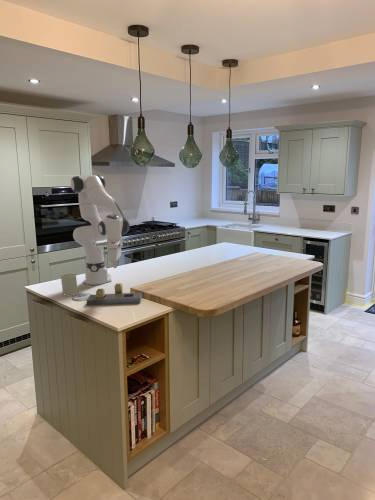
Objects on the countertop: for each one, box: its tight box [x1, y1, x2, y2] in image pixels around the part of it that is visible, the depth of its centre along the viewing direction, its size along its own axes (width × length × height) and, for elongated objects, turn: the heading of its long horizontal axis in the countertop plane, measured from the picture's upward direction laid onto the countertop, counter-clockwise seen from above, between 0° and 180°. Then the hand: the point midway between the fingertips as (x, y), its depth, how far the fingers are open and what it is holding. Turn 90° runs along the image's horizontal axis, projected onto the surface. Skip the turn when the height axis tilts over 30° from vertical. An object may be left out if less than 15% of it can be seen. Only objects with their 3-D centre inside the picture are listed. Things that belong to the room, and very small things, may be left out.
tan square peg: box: [95, 288, 106, 299], centre depth 221 cm, size 4×4×8 cm
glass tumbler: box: [60, 273, 79, 296], centre depth 239 cm, size 9×9×12 cm
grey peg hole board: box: [86, 292, 143, 306], centre depth 222 cm, size 10×30×3 cm, turn 91°
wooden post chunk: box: [113, 282, 124, 294], centre depth 230 cm, size 4×4×8 cm
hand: (116, 265), depth 227 cm, fingers open, 8 cm apart
